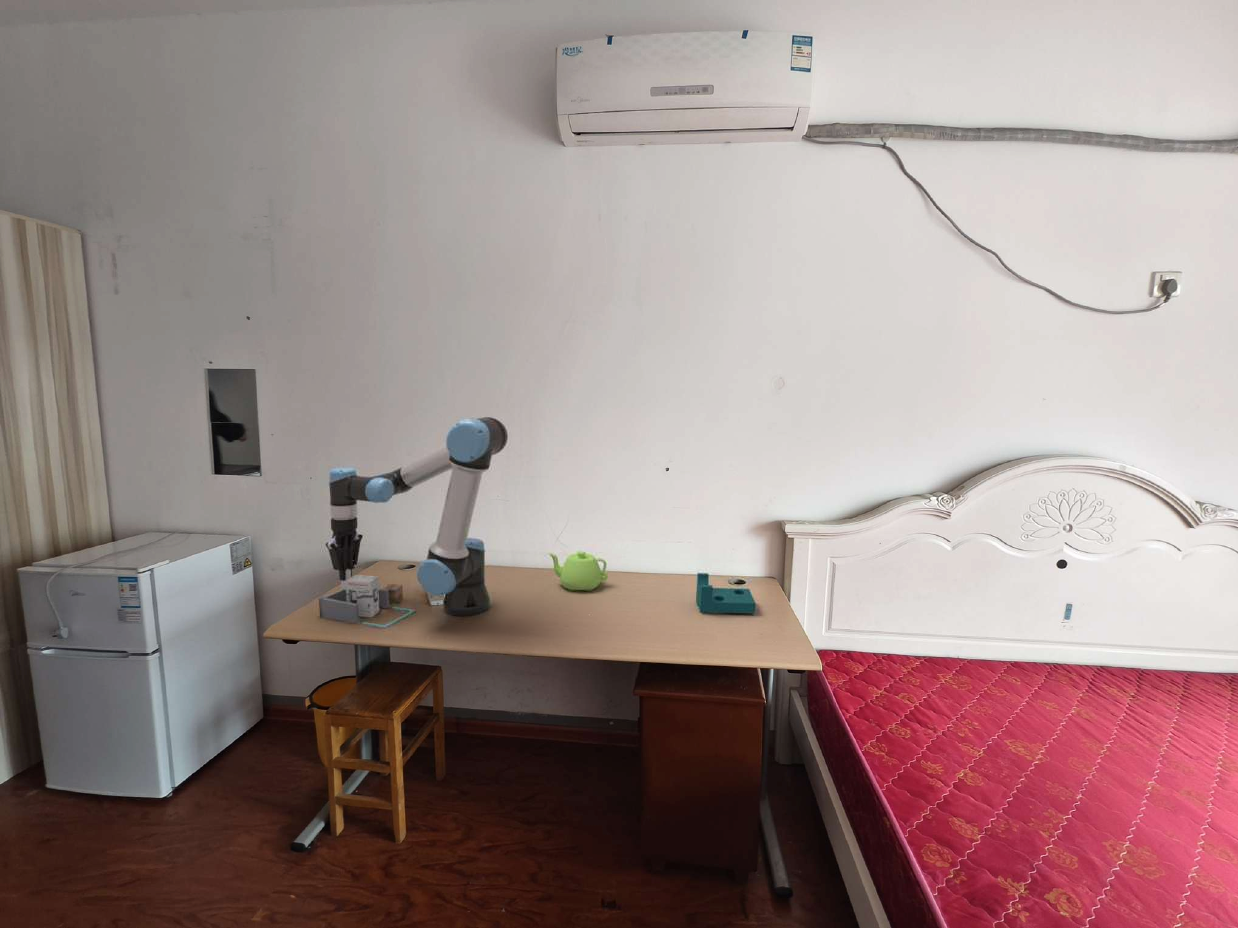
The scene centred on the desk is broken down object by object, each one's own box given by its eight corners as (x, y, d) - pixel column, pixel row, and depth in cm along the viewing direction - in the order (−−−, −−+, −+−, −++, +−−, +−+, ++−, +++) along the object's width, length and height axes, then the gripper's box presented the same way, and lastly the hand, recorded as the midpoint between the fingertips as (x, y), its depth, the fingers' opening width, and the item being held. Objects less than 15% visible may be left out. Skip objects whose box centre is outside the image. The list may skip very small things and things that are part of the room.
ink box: (345, 615, 179) (344, 579, 177) (354, 609, 184) (352, 574, 182) (372, 617, 178) (370, 581, 177) (380, 611, 183) (378, 575, 182)
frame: (415, 611, 184) (415, 610, 184) (384, 628, 171) (384, 627, 171) (394, 607, 186) (394, 606, 186) (362, 624, 173) (362, 622, 173)
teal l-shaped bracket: (699, 616, 187) (701, 586, 185) (695, 600, 198) (697, 572, 195) (754, 617, 187) (757, 588, 185) (747, 602, 198) (750, 574, 195)
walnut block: (402, 598, 194) (402, 584, 194) (396, 604, 190) (395, 589, 189) (388, 597, 195) (388, 583, 194) (381, 603, 190) (380, 589, 189)
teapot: (545, 593, 202) (545, 557, 200) (549, 579, 217) (549, 545, 215) (607, 594, 203) (608, 558, 201) (607, 579, 218) (608, 546, 216)
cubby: (389, 607, 187) (388, 589, 186) (355, 624, 173) (355, 605, 172) (355, 600, 191) (354, 583, 190) (319, 616, 178) (318, 598, 177)
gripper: (350, 511, 186) (352, 580, 190) (317, 520, 174) (320, 593, 177) (369, 514, 184) (370, 584, 187) (336, 523, 172) (339, 597, 175)
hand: (346, 588), depth 182 cm, fingers closed
